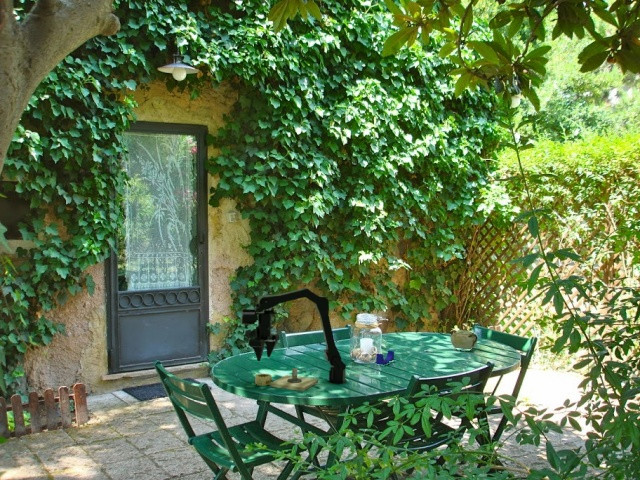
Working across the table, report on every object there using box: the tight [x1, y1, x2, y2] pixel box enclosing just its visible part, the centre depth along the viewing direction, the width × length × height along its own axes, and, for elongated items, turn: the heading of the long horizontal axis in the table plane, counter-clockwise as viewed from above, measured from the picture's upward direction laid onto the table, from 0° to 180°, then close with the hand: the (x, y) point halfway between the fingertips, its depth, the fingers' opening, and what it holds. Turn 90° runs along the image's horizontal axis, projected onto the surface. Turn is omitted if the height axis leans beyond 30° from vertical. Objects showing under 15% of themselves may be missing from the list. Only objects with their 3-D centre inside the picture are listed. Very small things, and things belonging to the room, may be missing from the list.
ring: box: [254, 373, 272, 387], centre depth 281 cm, size 7×7×4 cm
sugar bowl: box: [450, 324, 478, 349], centre depth 364 cm, size 20×15×15 cm
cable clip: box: [375, 349, 395, 365], centre depth 325 cm, size 12×4×6 cm, turn 141°
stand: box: [269, 367, 319, 392], centre depth 280 cm, size 16×16×7 cm
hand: (263, 359), depth 280 cm, fingers open, 9 cm apart
